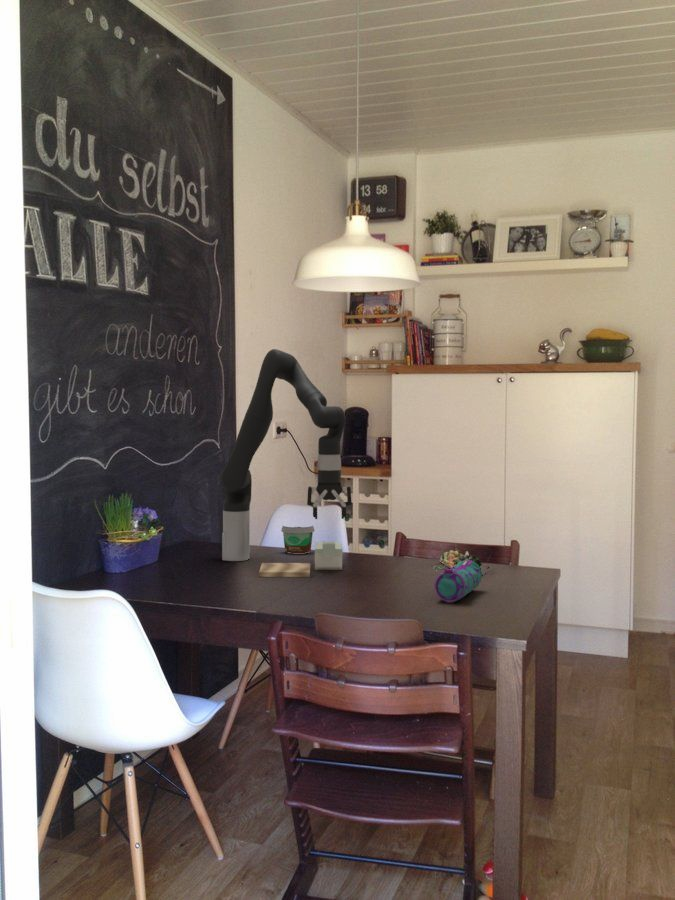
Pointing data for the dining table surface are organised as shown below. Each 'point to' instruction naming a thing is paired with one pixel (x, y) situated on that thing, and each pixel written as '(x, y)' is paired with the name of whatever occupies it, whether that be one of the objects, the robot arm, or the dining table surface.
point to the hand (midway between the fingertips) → (329, 518)
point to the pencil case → (458, 581)
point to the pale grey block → (328, 548)
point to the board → (284, 570)
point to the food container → (297, 539)
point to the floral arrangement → (456, 558)
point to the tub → (328, 561)
